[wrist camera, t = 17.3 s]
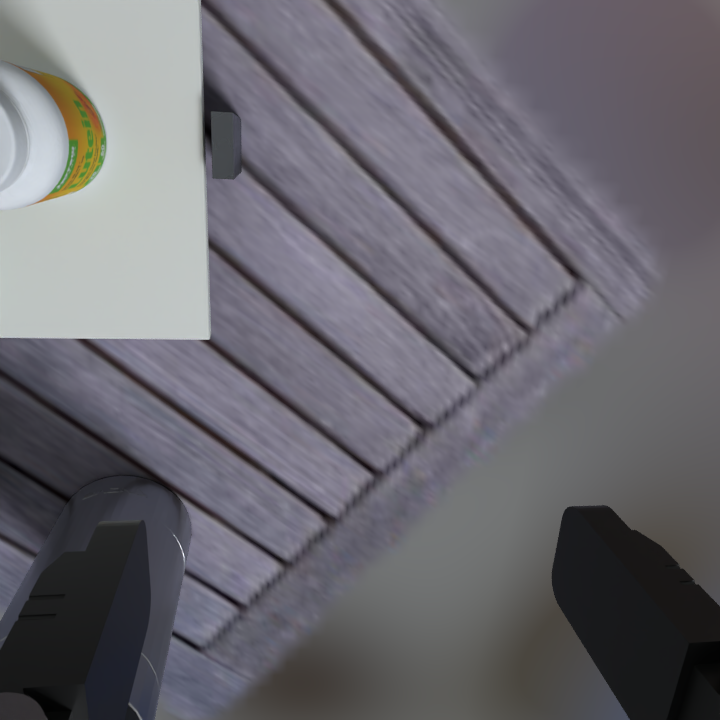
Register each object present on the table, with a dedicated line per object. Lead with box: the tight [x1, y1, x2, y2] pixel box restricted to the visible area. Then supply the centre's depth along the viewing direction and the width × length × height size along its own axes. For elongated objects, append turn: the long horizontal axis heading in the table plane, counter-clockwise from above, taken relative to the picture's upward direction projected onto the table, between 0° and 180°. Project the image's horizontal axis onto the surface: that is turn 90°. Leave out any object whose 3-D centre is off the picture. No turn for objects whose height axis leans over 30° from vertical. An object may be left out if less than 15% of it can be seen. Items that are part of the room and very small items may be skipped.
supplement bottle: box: [0, 60, 108, 210], centre depth 24 cm, size 5×5×10 cm
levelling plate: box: [0, 0, 211, 340], centre depth 28 cm, size 20×14×3 cm
